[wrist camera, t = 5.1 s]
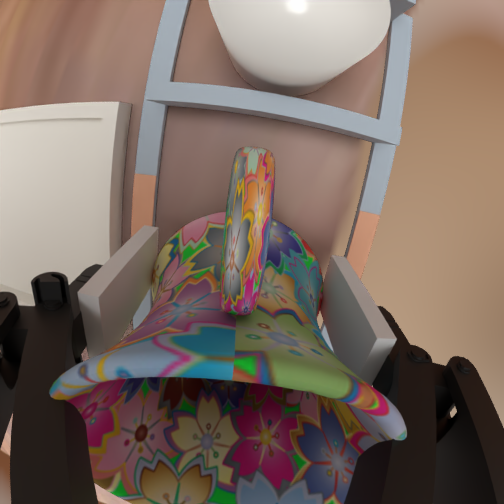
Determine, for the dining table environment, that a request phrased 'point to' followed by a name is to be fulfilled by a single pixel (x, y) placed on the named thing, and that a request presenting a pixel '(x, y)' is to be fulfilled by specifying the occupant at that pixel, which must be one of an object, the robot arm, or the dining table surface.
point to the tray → (60, 190)
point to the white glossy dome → (298, 39)
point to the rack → (276, 107)
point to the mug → (229, 371)
